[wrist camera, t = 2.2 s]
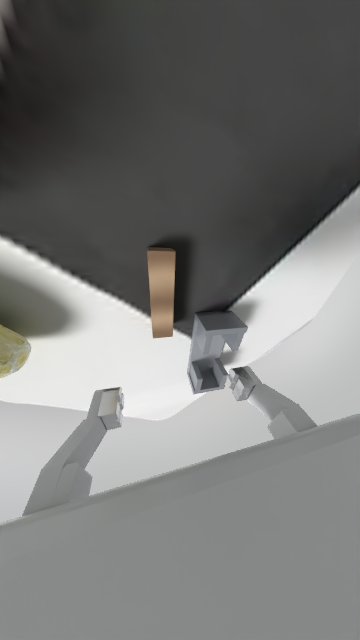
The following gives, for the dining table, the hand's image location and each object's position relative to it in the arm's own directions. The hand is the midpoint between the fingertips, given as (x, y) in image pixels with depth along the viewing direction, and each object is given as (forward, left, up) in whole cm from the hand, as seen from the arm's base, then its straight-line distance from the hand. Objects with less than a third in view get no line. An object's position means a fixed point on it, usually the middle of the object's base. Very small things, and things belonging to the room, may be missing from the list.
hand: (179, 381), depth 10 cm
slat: (0, 0, -18) cm, 18 cm away
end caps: (-11, +14, -17) cm, 25 cm away
